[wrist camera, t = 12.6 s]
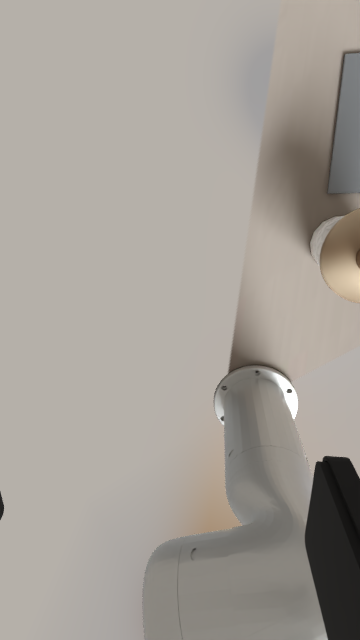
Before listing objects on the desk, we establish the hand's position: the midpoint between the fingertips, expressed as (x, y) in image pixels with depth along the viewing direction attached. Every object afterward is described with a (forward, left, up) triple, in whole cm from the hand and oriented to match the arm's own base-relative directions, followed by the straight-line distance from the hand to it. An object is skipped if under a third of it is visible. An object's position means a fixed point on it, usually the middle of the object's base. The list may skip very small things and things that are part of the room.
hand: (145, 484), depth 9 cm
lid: (+2, -17, -28) cm, 33 cm away
